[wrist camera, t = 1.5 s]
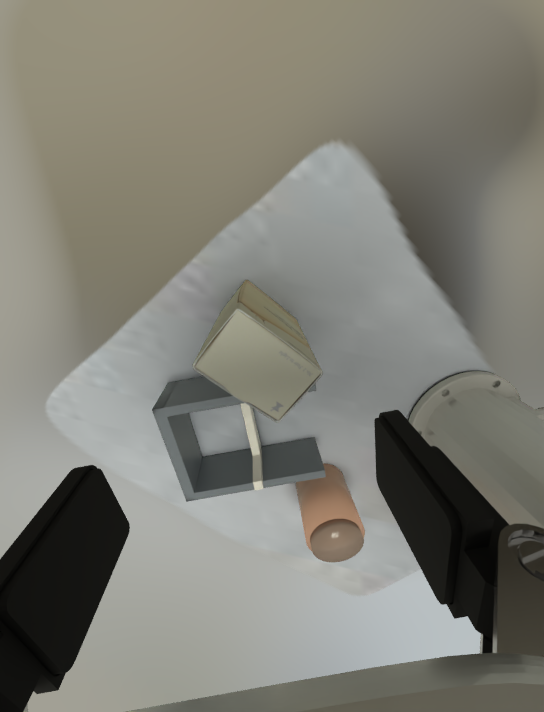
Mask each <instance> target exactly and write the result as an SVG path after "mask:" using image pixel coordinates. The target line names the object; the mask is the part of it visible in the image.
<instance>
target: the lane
mask: <svg viewBox="0 0 544 712" xmlns="http://www.w3.org/2000/svg"><path fill="white" fill-rule="evenodd" d="M312 391H316V385H315V384H314V385H313V386H312V387H311V389H310V390H309V391H308V392H312ZM243 403H244V402H242V401H241V400H239V399H237V398H236V397H234V396H233V395H231V394H230V393H228V392H227V391H225V390H224V389H222V388H221V387H219V386H218V385H216V384H215V383H213V382H212V381H210V380H209V379H207V378H206V377H198V378H193V379H187V380H181V381H175V382H169V383H168V384H167V386H166V387H165V389H164V391H163V392H162V394H161V396H160V397H159V399H158V401H157V402H156V404H155V406H154V408H153V409H152V411H153V414H154V416H155V419H156V422H157V424H158V427H159V430H160V432H161V435H162V438H163V440H164V443H165V445H166V448H167V451H168V453H169V456H170V459H171V461H172V464H173V467H174V469H175V472H176V475H177V477H178V480H179V483H180V485H181V488H182V490H183V493H184V496H185V498H186V501H192V500H198V499H204V498H209V497H215V496H221V495H226V494H232V493H238V492H243V491H249V490H255V489H254V485H253V456H252V451H251V449H246V450H240V451H234V452H229V453H223V454H217V455H212V456H206V457H202V454H201V451H200V448H199V445H198V442H197V439H196V436H195V433H194V429H193V426H192V423H191V420H190V417H189V414H188V413H191V412H197V411H203V410H208V409H214V408H220V407H226V406H231V405H237V404H243ZM261 449H262V472H263V488H266V487H272V486H277V485H283V484H289V483H294V482H300V481H306V480H311V479H317V478H323V477H326V475H325V469H324V466H323V463H322V459H321V456H320V453H319V450H318V447H317V444H316V441H315V438H309V439H303V440H297V441H291V442H286V443H280V444H274V445H269V446H263V447H261Z"/></svg>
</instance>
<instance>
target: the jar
mask: <svg viewBox="0 0 544 712" xmlns="http://www.w3.org/2000/svg"><path fill="white" fill-rule="evenodd" d="M323 466H324V469H325V475H326V477H323V478H317V479H311V480H306V481H300V482H296V489H297V495H298V500H299V505H300V511H301V516H302V522H303V527H304V532H305V538H306V543H307V546H308V548H309V549H310V550H311V551H312V552H313V554H314V555H315V556H316V557H317V558H318V559H320V560H322V561H326V562H340V561H344V560H347V559H349V558H351V557H353V556H355V555H356V554H357V553H358V552H359V551H360V550H361V548H362V546H363V543H364V535H365V530H364V527H363V524H362V522H361V519H360V517H359V514H358V512H357V509H356V507H355V504H354V502H353V499H352V497H351V494H350V492H349V489H348V487H347V484H346V482H345V479H344V477H343V474H342V472H341V471H340V470H339V469H338V468H337V467H335V466H333V465H330V464H323Z"/></svg>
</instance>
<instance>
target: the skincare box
mask: <svg viewBox="0 0 544 712" xmlns="http://www.w3.org/2000/svg"><path fill="white" fill-rule="evenodd" d="M193 369H194V370H195V371H197V372H198V373H200V374H201V375H203V376H204V377H206V378H207V379H209V380H210V381H212V382H213V383H215V384H216V385H218V386H219V387H221V388H222V389H224V390H225V391H227V392H228V393H230V394H231V395H233V396H234V397H236V398H237V399H239V400H241V401H242V402H244V403H246V404H247V405H249V406H250V407H252V408H253V409H255V410H257V411H258V412H260V413H261V414H263V415H265V416H266V417H268V418H270V419H271V420H273V421H274V422H276V423H279V422H280V421H281V419H282V418H283V417H284V416H285V415H286V414H287V413H288V412H289V411H290V410H291V409H292V408H293V407H294V406H295V405H296V404H297V403H298V402H299V400H300V399H301V398H302V397H303V396H304V395H305V394H306V393H307V392H308V391H309V390H310V389H311V387H312V386H313V385H314V384H315V383H316V382H317V380H318V379H319V378H320V377H321V376H322V374H323V372H322V370H321V368H320V366H319V365H318V362H317V361H316V359H315V357H314V354H313V353H312V351H311V349H310V347H309V345H308V343H307V340H306V338H305V336H304V334H303V332H302V330H301V328H300V326H299V324H298V322H297V320H296V319H295V318H294V317H293V316H292V315H290V314H289V313H288V312H287V311H286V310H285V309H283V308H282V307H281V306H280V305H279V304H277V303H276V302H275V301H274V300H272V299H271V298H270V297H269V296H267V295H266V294H265V293H264V292H262V291H261V290H260V289H258V288H257V287H256V286H255V285H253V284H252V283H251V282H250V281H248V280H245V282H244V283H243V284H242V285H241V287H240V288H239V289H238V290H237V292H236V293H235V294H234V296H233V297H232V298H231V300H230V301H229V302H228V303H227V305H226V306H225V308H224V309H223V310H222V312H221V313H220V315H219V317H218V319H217V320H216V322H215V324H214V326H213V328H212V330H211V332H210V334H209V336H208V337H207V339H206V341H205V343H204V345H203V347H202V349H201V351H200V352H199V354H198V356H197V358H196V359H195V361H194V363H193Z"/></svg>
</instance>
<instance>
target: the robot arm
mask: <svg viewBox="0 0 544 712" xmlns="http://www.w3.org/2000/svg"><path fill="white" fill-rule="evenodd" d="M375 448H376V477H377V483H378V486H379V489H380V491H381V493H382V495H383V496H384V498H385V500H386V502H387V504H388V506H389V508H390V510H391V512H392V514H393V516H394V518H395V519H396V521H397V523H398V525H399V527H400V529H401V531H402V533H403V535H404V537H405V539H406V541H407V543H408V544H409V546H410V548H411V550H412V552H413V554H414V556H415V558H416V560H417V562H418V564H419V566H420V567H421V569H422V571H423V573H424V575H425V577H426V579H427V581H428V583H429V585H430V586H431V589H432V590H433V592H434V594H435V596H436V598H437V600H438V601H439V602H440V603H441V604H447V606H448V607H449V609H450V611H451V613H452V615H453V617H454V618H460V617H465V616H468V617H469V619H470V621H471V622H472V624H473V626H474V628H475V629H476V630H477V631H478V632H480V633H481V641H480V654H470V655H459V656H447V657H440V658H434V659H427V660H420V661H414V662H407V663H400V664H395V665H387V666H380V667H374V668H368V669H363V670H357V671H352V672H345V673H340V674H334V675H329V676H322V677H317V678H311V679H305V680H299V681H294V682H288V683H282V684H277V685H271V686H265V687H259V688H255V689H249V690H243V691H237V692H232V693H226V694H221V695H215V696H209V697H205V698H198V699H193V700H187V701H182V702H176V703H171V704H165V705H160V706H155V707H149V708H143V709H138V710H132V711H127V712H544V407H542V408H538V409H533V408H532V407H530V406H528V405H527V404H525V403H523V402H521V400H520V396H519V394H518V392H517V390H516V388H514V386H513V385H512V384H511V383H510V382H508V381H506V380H505V379H503V378H501V377H499V376H497V375H495V374H493V373H488V372H483V371H471V372H465V373H460V374H457V375H454V376H452V377H449V378H447V379H445V380H443V381H441V382H439V383H438V384H437V385H435V386H434V387H433V388H431V389H430V390H429V391H428V392H427V393H426V394H425V395H424V396H423V397H422V398H421V399H420V400H419V402H418V403H417V404H416V406H415V407H414V409H413V411H412V413H411V415H410V418H409V421H408V420H407V419H406V418H405V417H404V416H403V414H402V413H401V412H400V411H399V410H394V411H388V412H383V413H380V415H379V418H376V419H375ZM129 528H130V527H129V522H128V520H127V518H126V516H125V514H124V513H123V511H122V509H121V507H120V505H119V503H118V501H117V499H116V497H115V495H114V493H113V491H112V489H111V487H110V485H109V484H108V482H107V480H106V478H105V476H104V474H103V472H102V470H101V469H97V467H96V466H94V465H89V466H84V467H78V468H74V469H73V470H71V471H70V472H69V474H68V475H67V476H66V477H65V479H64V480H63V481H62V483H61V484H60V485H59V486H58V487H57V489H56V490H55V491H54V492H53V494H52V495H51V496H50V497H49V499H48V500H47V501H46V503H45V504H44V505H43V506H42V508H41V509H40V510H39V511H38V513H37V514H36V515H35V516H34V518H33V519H32V520H31V521H30V523H29V524H28V525H27V526H26V528H25V529H24V530H23V531H22V533H21V534H20V535H19V537H18V538H17V539H16V540H15V541H14V543H13V544H12V545H11V546H10V548H9V549H8V550H7V551H6V553H5V554H4V555H3V557H2V558H1V559H0V712H28V708H27V703H28V701H29V698H30V696H31V695H32V692H33V691H34V692H35V693H37V694H39V693H45V692H51V691H56V690H59V687H60V685H61V683H62V680H63V678H64V676H65V673H66V672H68V671H69V670H70V669H71V667H72V666H73V664H74V662H75V660H76V657H77V655H78V653H79V650H80V648H81V645H82V643H83V641H84V639H85V636H86V634H87V631H88V629H89V627H90V624H91V622H92V619H93V617H94V615H95V613H96V610H97V608H98V605H99V603H100V601H101V598H102V596H103V594H104V591H105V589H106V586H107V584H108V582H109V579H110V577H111V575H112V572H113V570H114V568H115V565H116V563H117V561H118V558H119V556H120V553H121V551H122V549H123V546H124V544H125V541H126V539H127V537H128V534H129Z"/></svg>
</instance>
